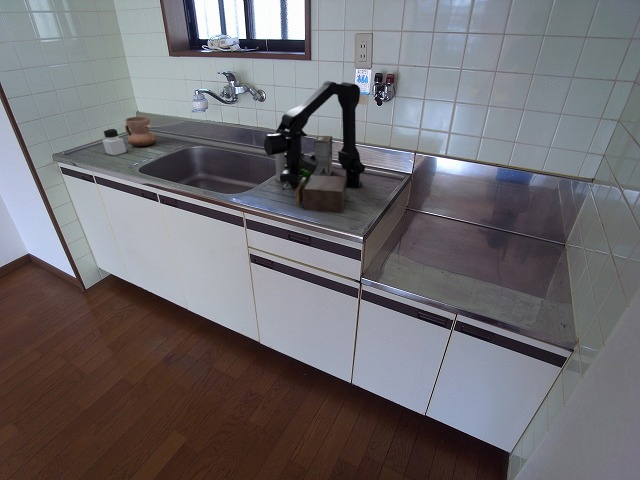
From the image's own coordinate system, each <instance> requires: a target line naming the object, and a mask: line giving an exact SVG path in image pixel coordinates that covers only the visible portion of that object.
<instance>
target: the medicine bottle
mask: <svg viewBox="0 0 640 480" xmlns="http://www.w3.org/2000/svg"><path fill="white" fill-rule="evenodd" d="M103 135H104V139H102V140H101V141H102V143H103V147H104V150H105V153H106V154H107V155H110V156H119V155H121V154H125V153H127V149H126V145H125V142H124V138H121V137H119V133H118V130H117V129H115V128H108V129H104V130H103Z"/></svg>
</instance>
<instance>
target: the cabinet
mask: <svg viewBox="0 0 640 480" xmlns="http://www.w3.org/2000/svg"><path fill="white" fill-rule="evenodd" d="M346 186H347V177H346V176H335V175H330V176H320V175H315V174H313V175H311V177H310V179H309V181H308V183H307V184H306V186H305V188H304V205H303V206H304V207H303V209H304V210H305V211H315V212H327V213H328V212H329V213H343V210H344V206H345V202H346V199H347V187H346Z"/></svg>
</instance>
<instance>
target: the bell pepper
mask: <svg viewBox="0 0 640 480" xmlns="http://www.w3.org/2000/svg"><path fill="white" fill-rule="evenodd" d="M302 170H303V171H304V173H303V174H302V176H301V178H300V179H299V181H301V180H302V178H303V177H306V184H307V183H308V181H309V179H310V177H311V175H314V173H311V172H310V171H307V170H305V169H303V168H302ZM299 184H300V183H299ZM299 184H298V185H299Z"/></svg>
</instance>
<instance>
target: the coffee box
mask: <svg viewBox="0 0 640 480" xmlns="http://www.w3.org/2000/svg"><path fill="white" fill-rule="evenodd" d="M313 149H314V151H313V152H314V153H313V155H315V156H316V158H317V160H318V165H317V167H316V170H315V172H314V175H320V176H331V174H332V172H333V135H318V136H317V137H316V138H315V140H314V142H313Z"/></svg>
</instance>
